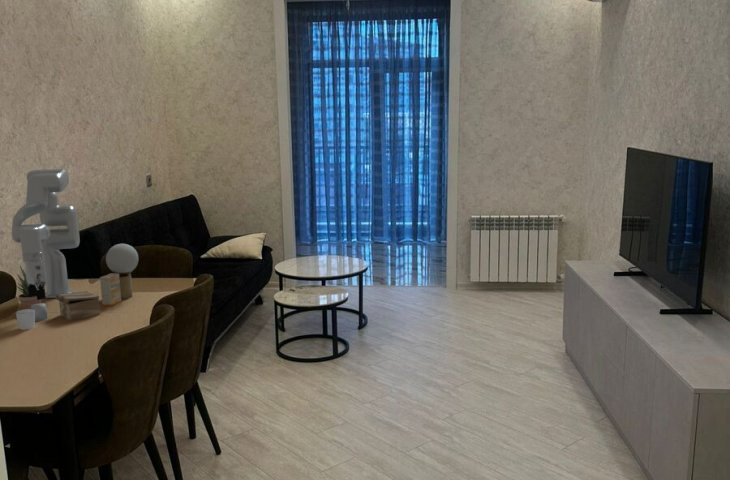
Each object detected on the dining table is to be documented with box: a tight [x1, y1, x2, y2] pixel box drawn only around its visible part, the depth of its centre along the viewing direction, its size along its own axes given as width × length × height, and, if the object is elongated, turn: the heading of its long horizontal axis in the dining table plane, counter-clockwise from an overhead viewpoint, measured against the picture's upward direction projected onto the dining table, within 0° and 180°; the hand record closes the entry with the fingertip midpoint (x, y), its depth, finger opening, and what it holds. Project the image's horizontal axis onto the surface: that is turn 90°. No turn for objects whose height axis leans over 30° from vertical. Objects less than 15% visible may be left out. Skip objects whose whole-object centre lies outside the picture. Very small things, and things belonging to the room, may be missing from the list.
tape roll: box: [31, 302, 49, 322], centre depth 281 cm, size 6×6×6 cm
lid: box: [56, 290, 100, 305], centre depth 285 cm, size 12×13×2 cm
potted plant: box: [16, 265, 42, 310], centre depth 292 cm, size 10×10×25 cm
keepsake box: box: [58, 297, 101, 321], centre depth 286 cm, size 12×12×7 cm
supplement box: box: [99, 272, 122, 307], centre depth 302 cm, size 8×5×13 cm, turn 168°
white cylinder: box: [15, 308, 36, 331], centre depth 269 cm, size 7×7×7 cm
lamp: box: [105, 243, 139, 301], centre depth 312 cm, size 15×14×25 cm
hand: (37, 297), depth 280 cm, fingers open, 9 cm apart
